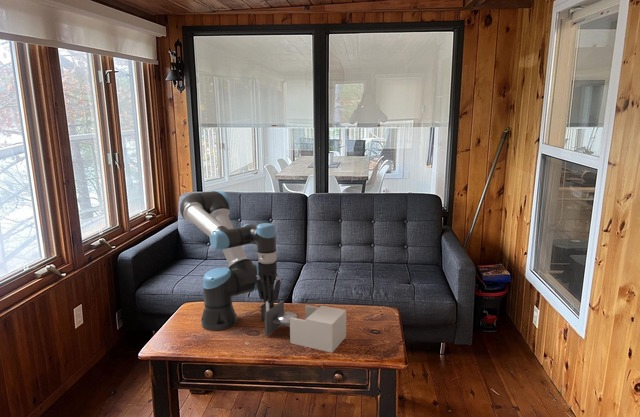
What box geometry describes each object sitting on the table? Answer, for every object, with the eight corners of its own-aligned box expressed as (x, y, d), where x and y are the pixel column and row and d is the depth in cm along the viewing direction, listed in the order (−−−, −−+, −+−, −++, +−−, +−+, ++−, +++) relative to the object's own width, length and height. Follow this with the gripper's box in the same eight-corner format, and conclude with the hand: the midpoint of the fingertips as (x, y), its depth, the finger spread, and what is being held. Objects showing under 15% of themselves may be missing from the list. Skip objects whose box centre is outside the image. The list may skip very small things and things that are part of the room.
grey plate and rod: (264, 335, 178) (263, 312, 176) (281, 321, 190) (281, 300, 188) (303, 344, 170) (303, 320, 168) (319, 329, 183) (318, 307, 181)
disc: (273, 322, 178) (273, 317, 178) (283, 314, 186) (283, 310, 185) (290, 326, 175) (290, 321, 175) (300, 318, 182) (300, 313, 182)
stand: (258, 320, 193) (258, 307, 192) (265, 315, 198) (265, 302, 197) (269, 322, 191) (269, 309, 190) (276, 317, 196) (275, 304, 195)
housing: (290, 343, 173) (289, 315, 171) (306, 328, 185) (306, 302, 183) (332, 352, 165) (332, 324, 163) (346, 336, 178) (346, 310, 175)
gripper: (248, 262, 179) (251, 316, 183) (276, 265, 173) (278, 321, 177) (259, 257, 185) (261, 309, 190) (285, 260, 180) (287, 314, 184)
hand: (269, 315), depth 183 cm, fingers closed
